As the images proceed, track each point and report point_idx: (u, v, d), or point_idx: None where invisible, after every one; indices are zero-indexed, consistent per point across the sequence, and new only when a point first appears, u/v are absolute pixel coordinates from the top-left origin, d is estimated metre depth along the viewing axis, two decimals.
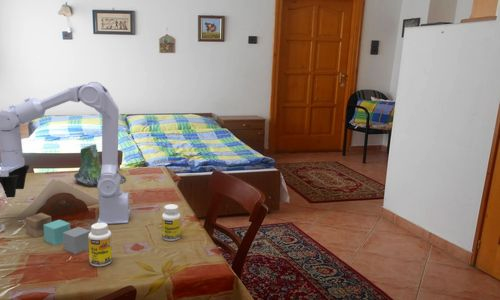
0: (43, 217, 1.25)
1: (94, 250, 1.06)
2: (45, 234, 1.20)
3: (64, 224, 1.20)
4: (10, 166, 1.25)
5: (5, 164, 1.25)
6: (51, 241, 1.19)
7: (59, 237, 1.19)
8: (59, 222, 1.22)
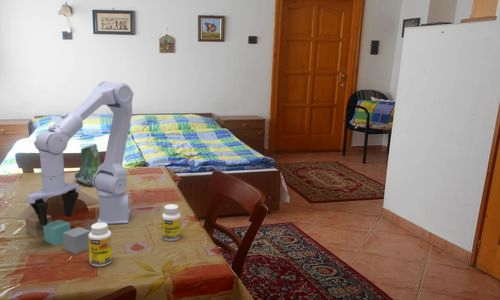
0: None
1: (94, 250, 1.06)
2: (45, 234, 1.20)
3: (64, 224, 1.20)
4: (44, 192, 1.15)
5: (42, 189, 1.16)
6: (51, 241, 1.19)
7: (59, 237, 1.19)
8: (59, 222, 1.22)
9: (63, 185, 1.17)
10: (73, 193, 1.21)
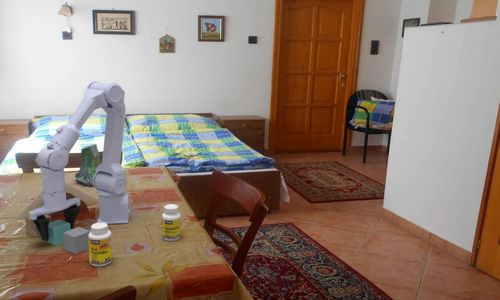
0: None
1: (94, 250, 1.06)
2: None
3: (64, 224, 1.20)
4: (46, 208, 1.16)
5: (44, 205, 1.17)
6: (51, 241, 1.19)
7: (59, 237, 1.19)
8: (59, 222, 1.22)
9: (64, 201, 1.18)
10: (74, 208, 1.22)
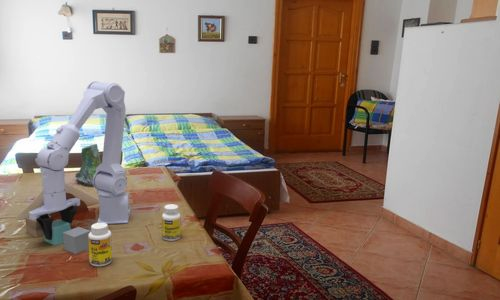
0: None
1: (94, 250, 1.06)
2: None
3: (64, 224, 1.20)
4: (46, 208, 1.16)
5: (44, 205, 1.17)
6: (51, 240, 1.19)
7: (59, 237, 1.19)
8: (59, 221, 1.22)
9: (64, 201, 1.18)
10: (74, 208, 1.22)
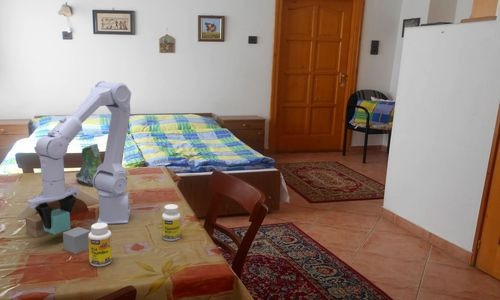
0: None
1: (94, 250, 1.06)
2: None
3: (63, 213, 1.20)
4: (45, 197, 1.16)
5: (43, 194, 1.17)
6: (50, 230, 1.18)
7: (58, 226, 1.18)
8: (58, 211, 1.21)
9: (63, 190, 1.18)
10: (73, 197, 1.22)
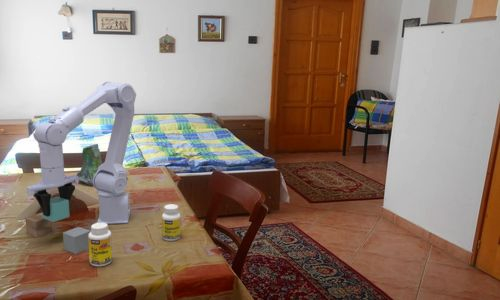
0: None
1: (94, 250, 1.06)
2: None
3: (62, 200, 1.19)
4: (44, 184, 1.15)
5: (42, 181, 1.16)
6: (49, 217, 1.17)
7: (57, 213, 1.17)
8: (57, 198, 1.20)
9: (63, 177, 1.17)
10: (73, 185, 1.21)
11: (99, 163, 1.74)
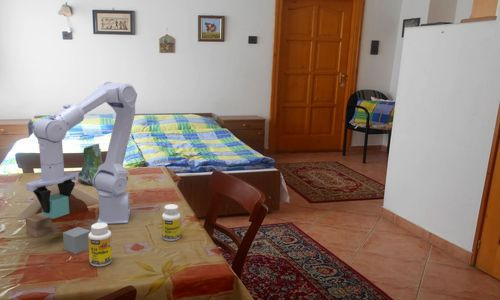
0: (43, 217, 1.25)
1: (94, 250, 1.06)
2: None
3: (62, 197, 1.18)
4: (44, 180, 1.15)
5: (42, 177, 1.15)
6: (49, 214, 1.17)
7: (57, 210, 1.17)
8: (57, 195, 1.20)
9: (62, 173, 1.17)
10: (72, 182, 1.21)
11: (100, 163, 1.74)
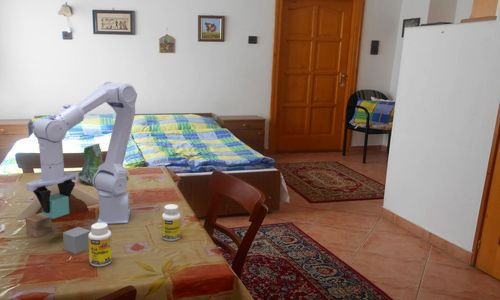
0: (43, 217, 1.25)
1: (94, 250, 1.06)
2: None
3: (62, 197, 1.18)
4: (44, 180, 1.15)
5: (42, 177, 1.15)
6: (49, 214, 1.17)
7: (57, 210, 1.17)
8: (57, 195, 1.20)
9: (62, 173, 1.17)
10: (72, 182, 1.21)
11: (100, 163, 1.75)
